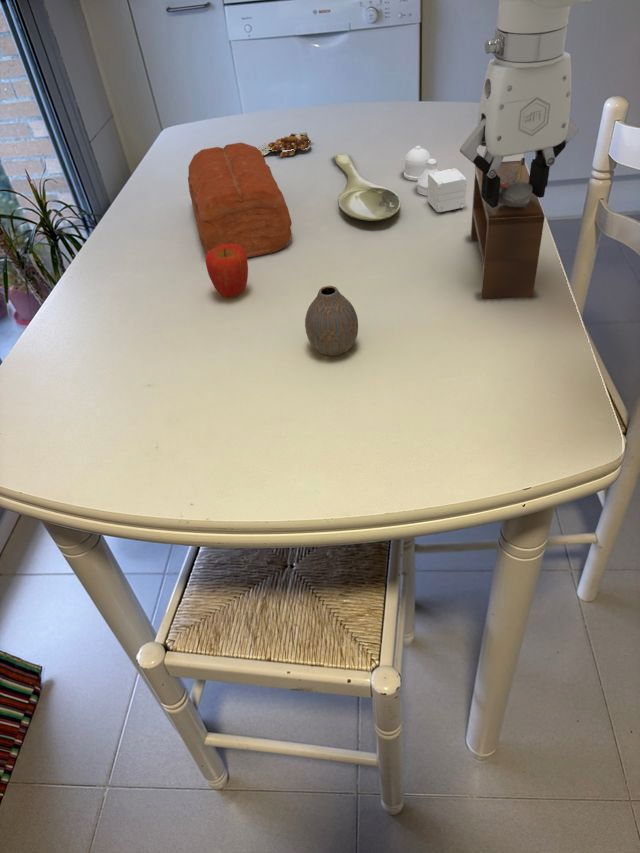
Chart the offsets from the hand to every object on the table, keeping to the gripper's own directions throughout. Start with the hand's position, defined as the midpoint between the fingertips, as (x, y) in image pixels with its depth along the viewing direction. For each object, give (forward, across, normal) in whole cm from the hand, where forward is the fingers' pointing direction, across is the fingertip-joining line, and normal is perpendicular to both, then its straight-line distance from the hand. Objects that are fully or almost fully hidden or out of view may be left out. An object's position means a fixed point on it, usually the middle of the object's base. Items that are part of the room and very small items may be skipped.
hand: (513, 197), depth 85 cm
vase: (+13, -27, -6) cm, 31 cm away
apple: (+13, -38, +13) cm, 42 cm away
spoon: (+13, -10, +40) cm, 43 cm away
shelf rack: (+13, +2, +5) cm, 14 cm away
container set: (+13, +2, +34) cm, 37 cm away
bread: (+13, -33, +36) cm, 51 cm away
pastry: (+13, -19, +66) cm, 70 cm away
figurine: (+1, 0, 0) cm, 1 cm away
